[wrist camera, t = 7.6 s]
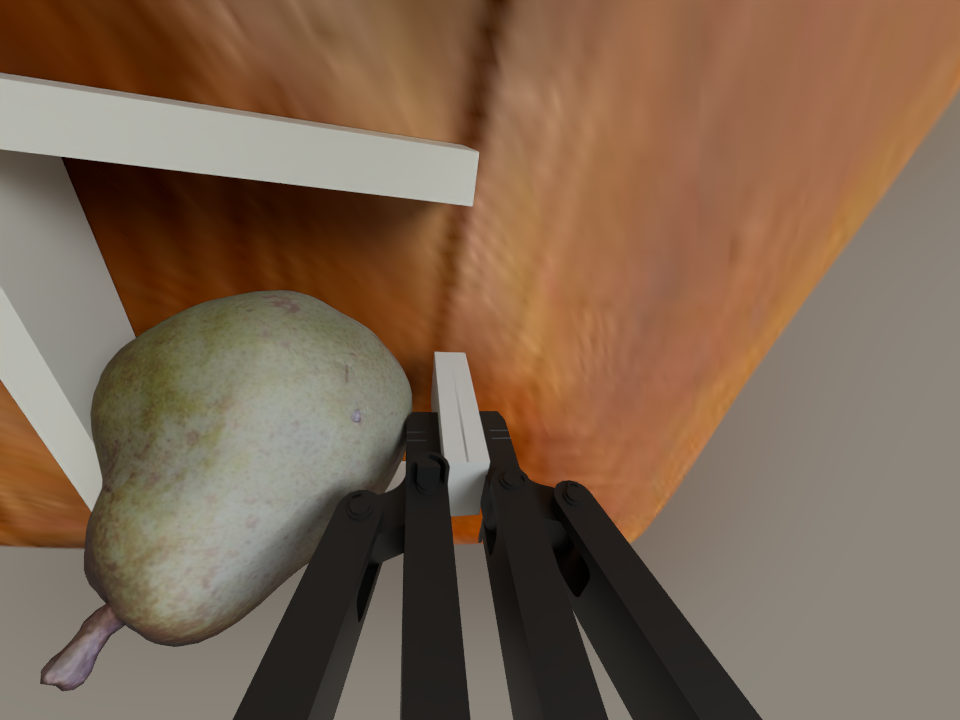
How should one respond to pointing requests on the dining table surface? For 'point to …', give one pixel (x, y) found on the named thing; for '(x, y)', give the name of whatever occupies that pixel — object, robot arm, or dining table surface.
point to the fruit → (228, 462)
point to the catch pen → (75, 254)
